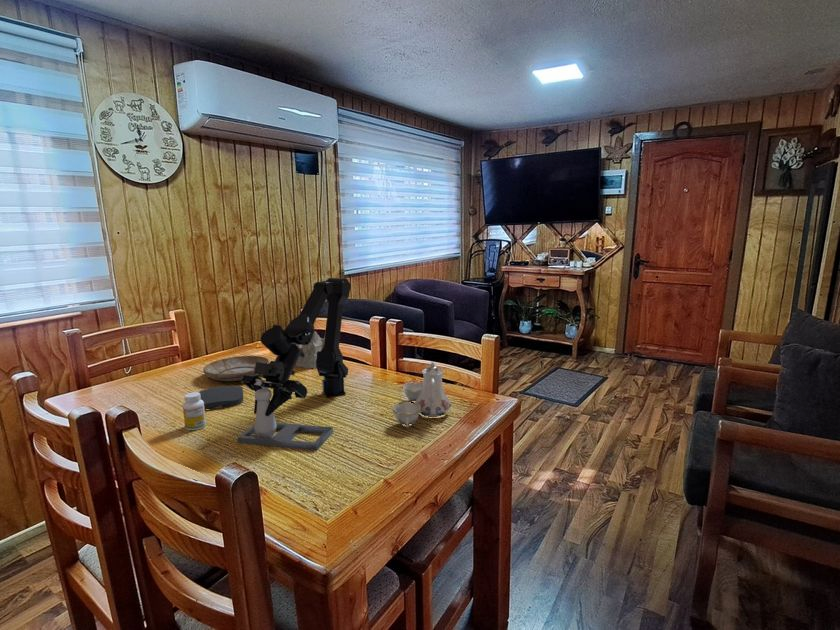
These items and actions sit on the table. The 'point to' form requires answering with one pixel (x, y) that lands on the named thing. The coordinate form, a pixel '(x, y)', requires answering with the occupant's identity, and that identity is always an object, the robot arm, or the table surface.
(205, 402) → the media streaming box
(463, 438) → the table surface
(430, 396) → the chinaware
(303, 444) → the hole plate
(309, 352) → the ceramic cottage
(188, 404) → the supplement bottle
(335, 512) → the table surface
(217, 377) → the ceramic bowl
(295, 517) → the table surface
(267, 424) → the salt shaker
